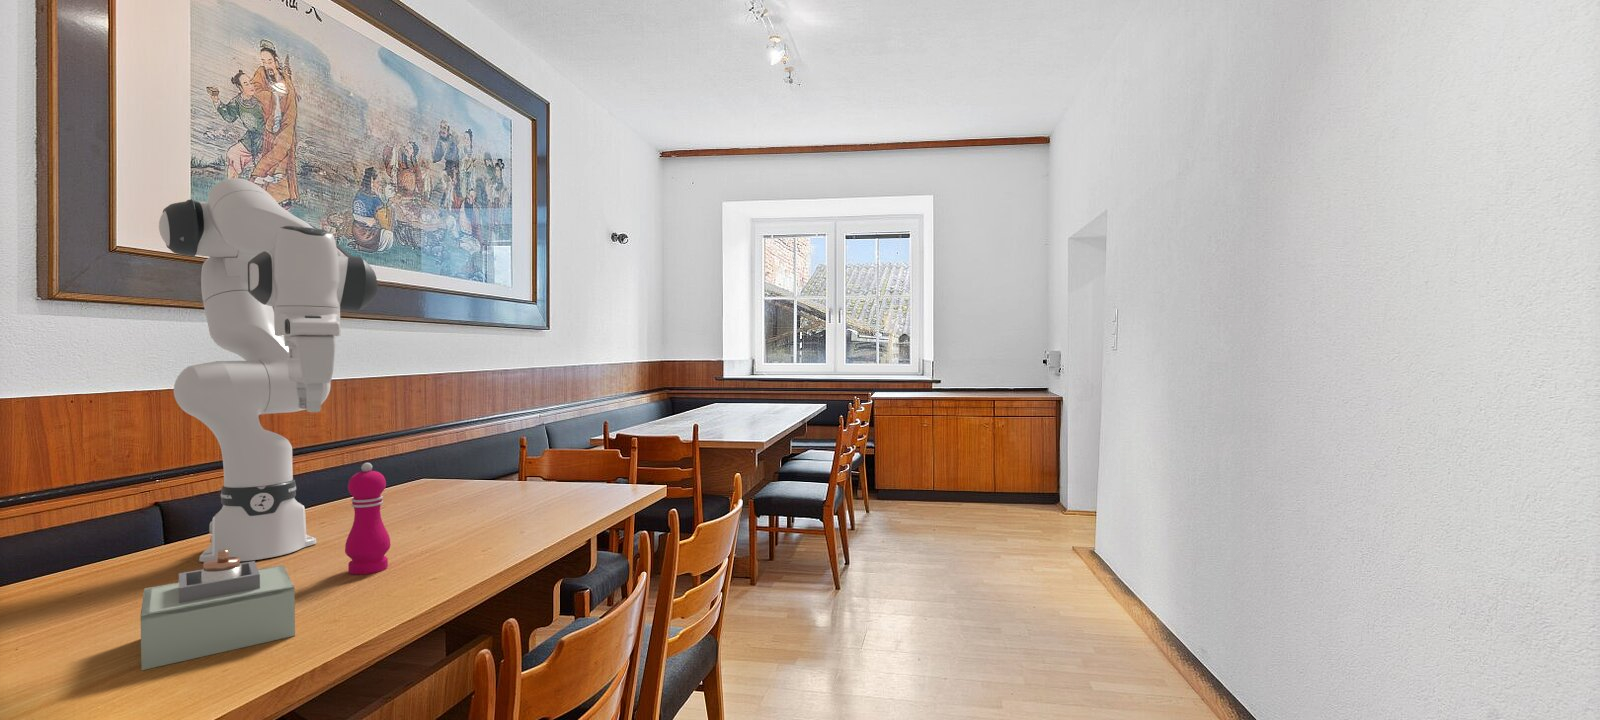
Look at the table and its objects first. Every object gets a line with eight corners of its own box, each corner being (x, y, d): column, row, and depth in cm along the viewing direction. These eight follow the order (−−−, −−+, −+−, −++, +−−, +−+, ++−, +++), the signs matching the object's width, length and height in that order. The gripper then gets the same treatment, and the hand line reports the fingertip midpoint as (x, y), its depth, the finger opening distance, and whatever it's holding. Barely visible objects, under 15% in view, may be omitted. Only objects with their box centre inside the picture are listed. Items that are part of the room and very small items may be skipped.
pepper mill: (369, 576, 126) (367, 466, 126) (335, 574, 127) (333, 465, 127) (399, 564, 133) (398, 460, 133) (367, 562, 134) (365, 459, 134)
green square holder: (145, 637, 100) (144, 574, 100) (284, 608, 110) (283, 552, 110) (141, 670, 89) (140, 600, 89) (295, 635, 100) (294, 573, 100)
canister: (198, 630, 100) (200, 549, 100) (237, 622, 103) (239, 543, 103) (201, 639, 96) (204, 555, 97) (242, 631, 100) (244, 549, 100)
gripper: (277, 327, 119) (278, 407, 120) (291, 323, 104) (293, 415, 104) (321, 327, 124) (322, 405, 124) (341, 323, 108) (343, 412, 109)
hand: (309, 410), depth 114 cm, fingers open, 8 cm apart
